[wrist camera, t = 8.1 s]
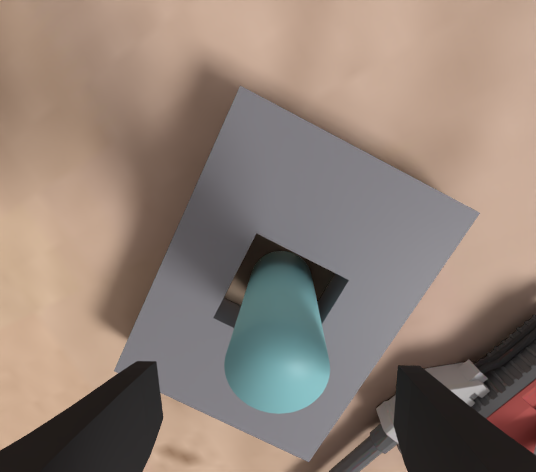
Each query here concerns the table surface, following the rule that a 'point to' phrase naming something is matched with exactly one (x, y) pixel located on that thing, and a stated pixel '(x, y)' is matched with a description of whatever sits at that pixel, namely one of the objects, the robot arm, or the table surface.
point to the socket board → (302, 243)
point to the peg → (278, 338)
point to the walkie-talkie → (474, 396)
